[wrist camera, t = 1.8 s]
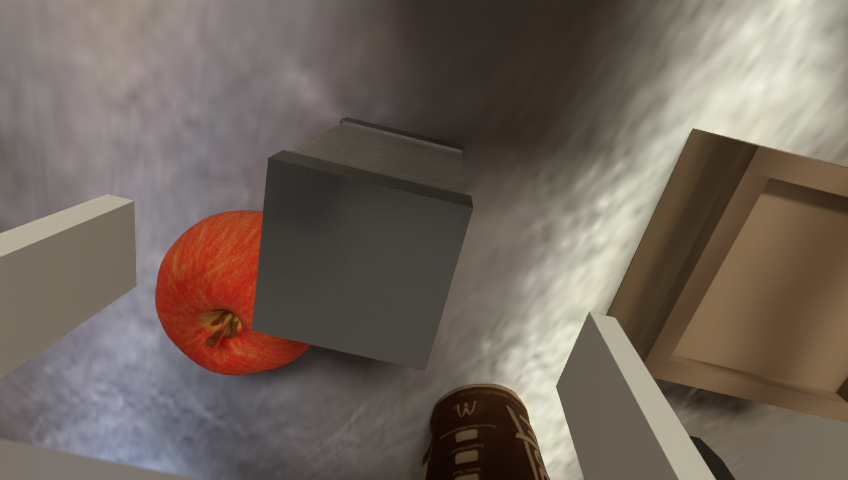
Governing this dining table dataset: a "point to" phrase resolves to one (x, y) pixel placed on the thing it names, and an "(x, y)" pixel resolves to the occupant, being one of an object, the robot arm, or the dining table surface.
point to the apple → (219, 297)
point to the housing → (361, 241)
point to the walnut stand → (745, 277)
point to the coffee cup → (482, 437)
